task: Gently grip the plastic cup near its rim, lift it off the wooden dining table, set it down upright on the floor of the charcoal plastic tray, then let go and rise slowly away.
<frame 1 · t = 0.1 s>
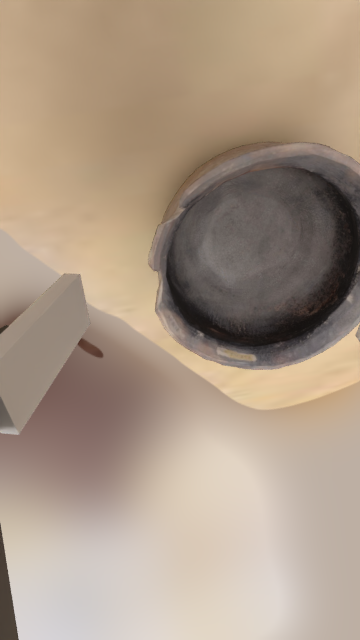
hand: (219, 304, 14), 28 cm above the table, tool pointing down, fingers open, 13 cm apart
ceramic bowl: (247, 234, 39), on the table
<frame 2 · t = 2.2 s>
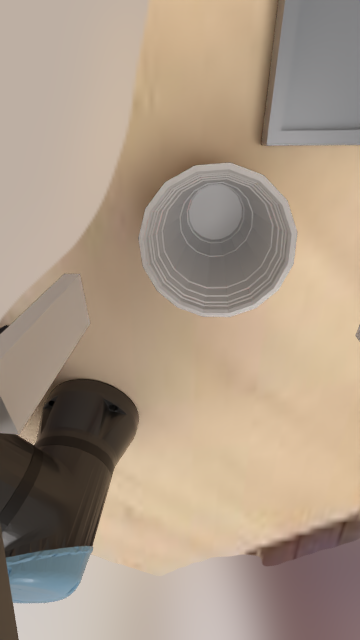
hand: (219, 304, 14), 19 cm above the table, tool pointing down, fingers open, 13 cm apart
plastic cup: (213, 212, 30), on the table
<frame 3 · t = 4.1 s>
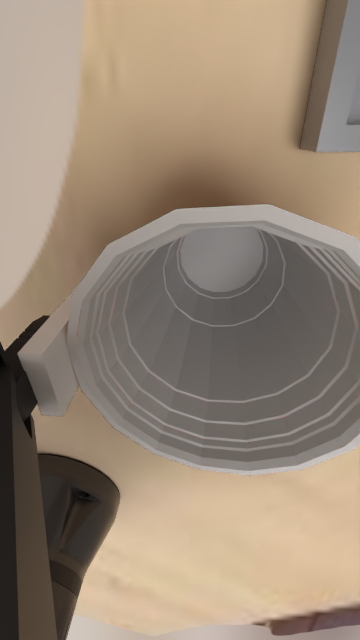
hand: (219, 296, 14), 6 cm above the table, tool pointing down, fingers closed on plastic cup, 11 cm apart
plastic cup: (217, 253, 19), on the table, touching gripper
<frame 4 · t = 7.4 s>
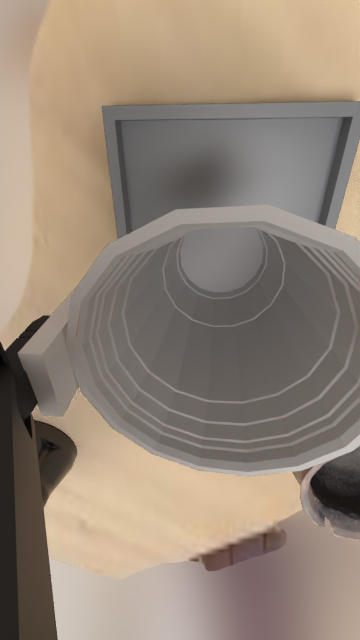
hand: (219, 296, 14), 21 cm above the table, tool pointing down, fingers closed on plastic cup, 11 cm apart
cup tray: (222, 199, 31), on the table
plastic cup: (217, 253, 19), point 14 cm above the table, touching gripper
ceramic bowl: (348, 396, 45), on the table
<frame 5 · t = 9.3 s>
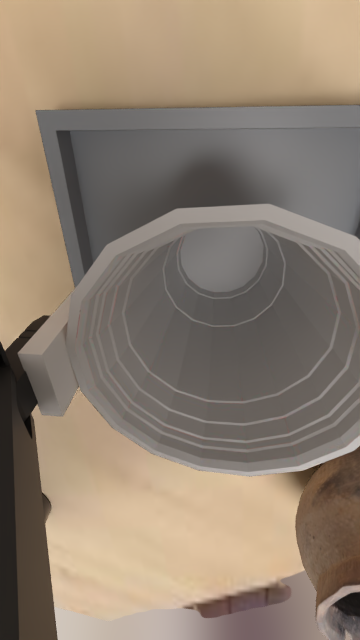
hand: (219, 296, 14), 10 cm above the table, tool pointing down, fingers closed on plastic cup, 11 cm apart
cup tray: (215, 235, 23), on the table
plastic cup: (217, 253, 19), point 4 cm above the table, touching gripper
when the fingers open (7 cm above the table, at t = 11.0 s): plastic cup stays where it is, resting on cup tray.
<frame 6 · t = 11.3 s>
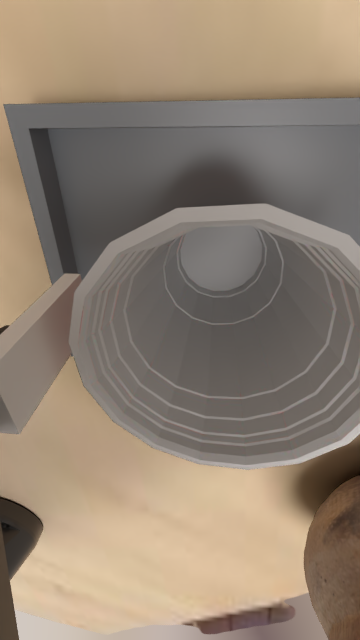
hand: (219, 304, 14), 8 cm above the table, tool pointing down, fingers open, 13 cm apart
cup tray: (217, 247, 20), on the table
plastic cup: (217, 252, 20), point 1 cm above the table, touching cup tray
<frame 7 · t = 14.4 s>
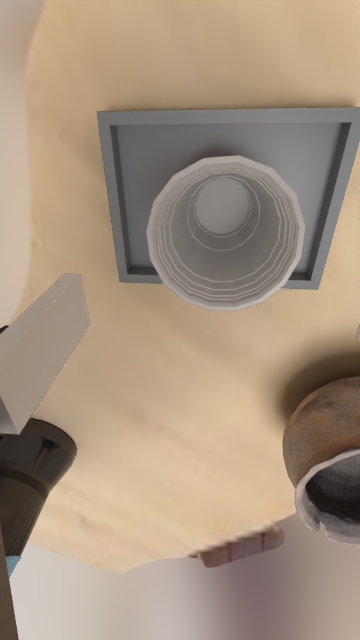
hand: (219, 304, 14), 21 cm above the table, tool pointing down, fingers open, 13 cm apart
cup tray: (220, 204, 31), on the table
plastic cup: (220, 206, 30), point 1 cm above the table, touching cup tray
ceramic bowl: (347, 400, 44), on the table
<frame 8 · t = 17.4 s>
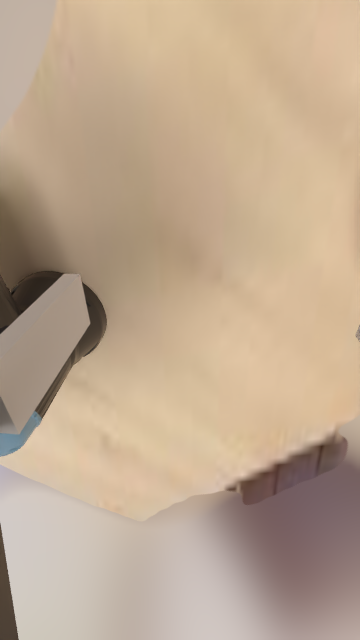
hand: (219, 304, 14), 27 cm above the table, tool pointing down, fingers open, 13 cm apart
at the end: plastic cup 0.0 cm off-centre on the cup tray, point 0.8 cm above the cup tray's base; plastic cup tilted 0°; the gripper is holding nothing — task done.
